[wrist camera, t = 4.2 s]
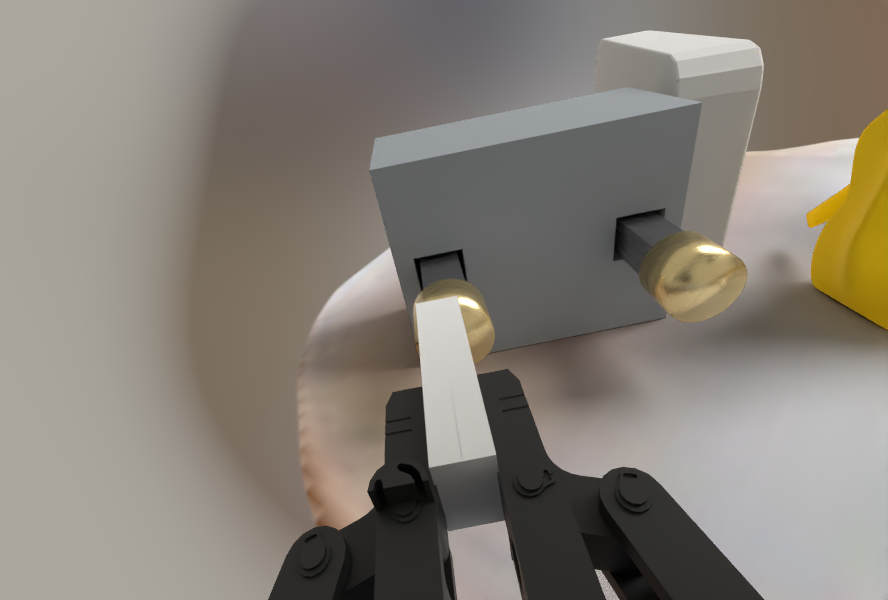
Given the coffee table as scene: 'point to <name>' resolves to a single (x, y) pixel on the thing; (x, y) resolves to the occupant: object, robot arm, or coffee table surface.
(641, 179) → the knob housing
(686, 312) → the knob
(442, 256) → the knob
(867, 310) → the figure statuette
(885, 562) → the coffee table surface
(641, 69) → the rounded white slab
